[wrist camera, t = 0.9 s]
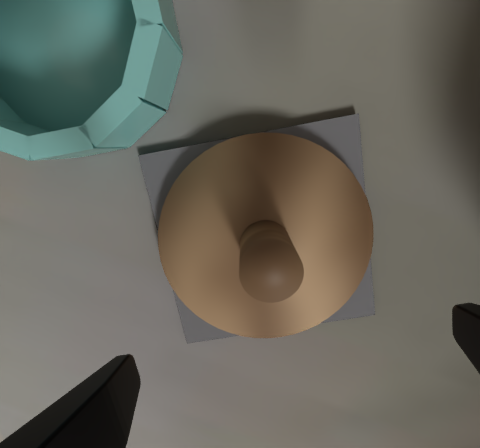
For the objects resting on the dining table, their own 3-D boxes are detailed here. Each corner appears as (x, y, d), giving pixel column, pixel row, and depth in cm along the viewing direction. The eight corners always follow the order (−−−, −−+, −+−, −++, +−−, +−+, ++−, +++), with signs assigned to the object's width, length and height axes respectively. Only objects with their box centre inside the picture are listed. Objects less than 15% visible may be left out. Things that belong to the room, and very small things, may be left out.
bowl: (149, -111, 14) (112, -209, 10) (199, 134, 17) (186, 130, 13) (-71, -57, 15) (-186, -131, 11) (11, 170, 17) (-56, 177, 13)
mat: (356, 114, 16) (358, 113, 16) (372, 311, 19) (375, 314, 19) (140, 155, 17) (138, 155, 17) (188, 339, 20) (187, 343, 19)
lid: (358, 113, 16) (406, 99, 11) (374, 314, 19) (418, 369, 14) (138, 155, 17) (97, 158, 12) (186, 343, 19) (168, 405, 15)
